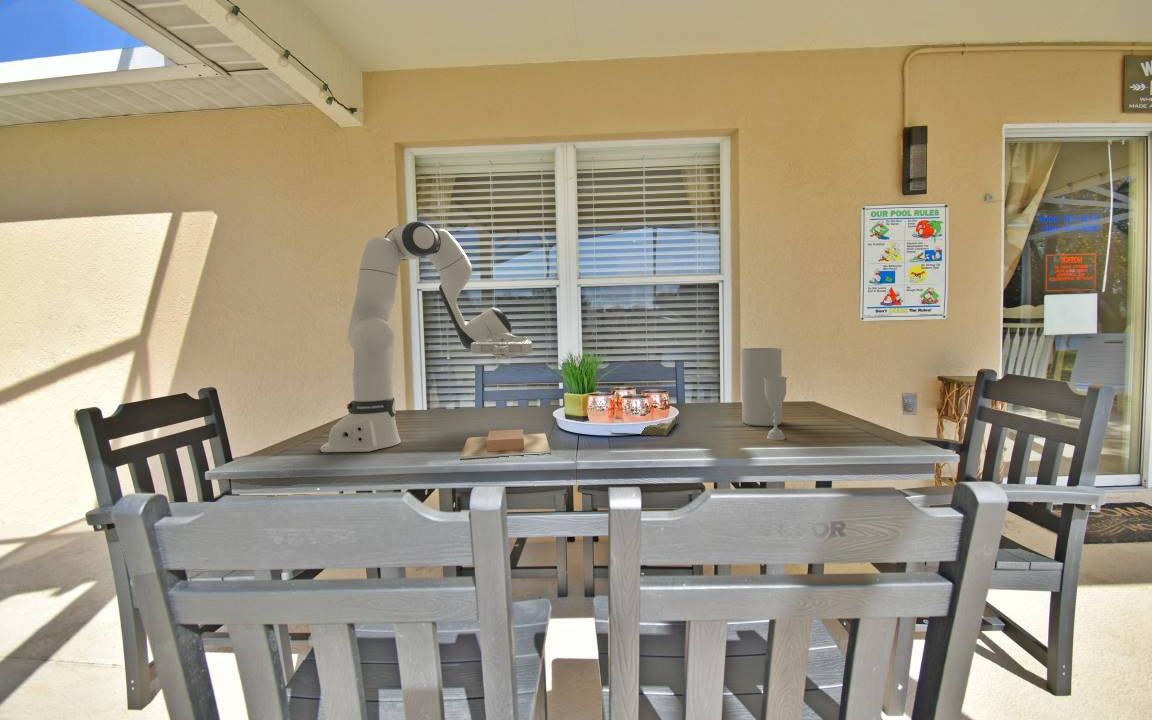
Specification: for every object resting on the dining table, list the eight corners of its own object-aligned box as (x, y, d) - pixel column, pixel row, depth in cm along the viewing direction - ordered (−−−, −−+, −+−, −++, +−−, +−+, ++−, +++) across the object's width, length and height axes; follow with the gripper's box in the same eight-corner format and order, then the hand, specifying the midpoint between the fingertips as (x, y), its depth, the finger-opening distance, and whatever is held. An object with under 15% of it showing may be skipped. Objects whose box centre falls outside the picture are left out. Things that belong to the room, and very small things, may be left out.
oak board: (460, 460, 134) (459, 456, 134) (468, 440, 158) (468, 437, 158) (550, 454, 137) (550, 451, 137) (545, 436, 160) (545, 433, 160)
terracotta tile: (489, 441, 151) (487, 452, 138) (489, 431, 151) (486, 440, 138) (523, 439, 152) (524, 449, 139) (522, 429, 152) (523, 438, 139)
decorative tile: (676, 424, 175) (675, 414, 175) (667, 437, 156) (666, 425, 156) (623, 423, 181) (623, 413, 181) (608, 435, 162) (608, 424, 162)
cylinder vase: (738, 420, 177) (737, 348, 175) (775, 419, 176) (775, 347, 174) (747, 427, 165) (746, 350, 163) (787, 426, 163) (786, 349, 162)
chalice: (761, 435, 152) (760, 375, 151) (785, 435, 150) (785, 375, 149) (765, 440, 145) (764, 378, 144) (790, 440, 143) (790, 377, 142)
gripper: (472, 336, 174) (467, 339, 160) (532, 337, 176) (532, 339, 162) (472, 355, 175) (467, 359, 161) (532, 355, 177) (532, 359, 163)
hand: (500, 349), depth 162 cm, fingers closed
